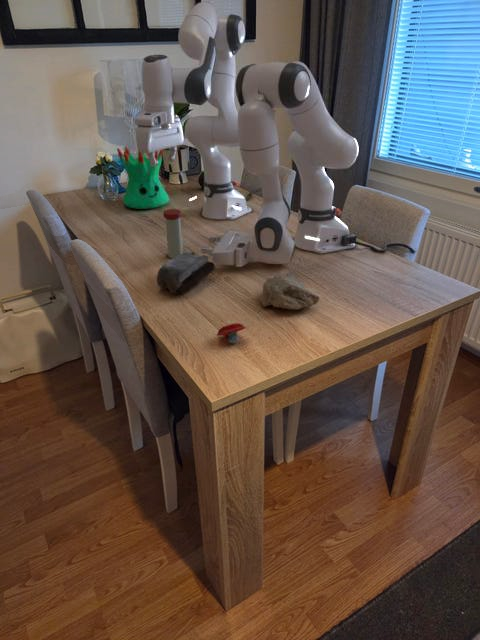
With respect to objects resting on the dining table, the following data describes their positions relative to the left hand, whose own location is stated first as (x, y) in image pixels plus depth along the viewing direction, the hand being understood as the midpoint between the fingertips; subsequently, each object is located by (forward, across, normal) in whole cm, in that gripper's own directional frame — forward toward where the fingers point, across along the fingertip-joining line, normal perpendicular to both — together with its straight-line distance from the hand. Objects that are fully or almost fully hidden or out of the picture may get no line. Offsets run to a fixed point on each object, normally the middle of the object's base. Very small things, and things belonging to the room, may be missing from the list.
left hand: (163, 163), depth 142 cm
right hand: (+25, 0, +15) cm, 29 cm away
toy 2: (+28, -76, -26) cm, 85 cm away
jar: (+30, +2, +4) cm, 30 cm away
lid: (+15, +3, +4) cm, 15 cm away
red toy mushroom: (+31, +40, +46) cm, 68 cm away
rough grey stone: (+30, +14, +50) cm, 60 cm away
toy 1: (+29, -40, -41) cm, 64 cm away
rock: (+30, +19, +20) cm, 41 cm away
